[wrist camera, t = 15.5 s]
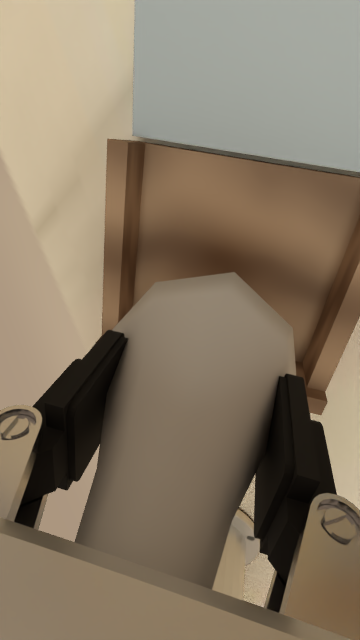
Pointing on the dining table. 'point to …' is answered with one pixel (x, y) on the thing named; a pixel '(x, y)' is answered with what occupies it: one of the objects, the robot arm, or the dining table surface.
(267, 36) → the grey flat panel
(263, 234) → the wooden tray
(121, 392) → the flask
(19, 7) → the dining table surface
